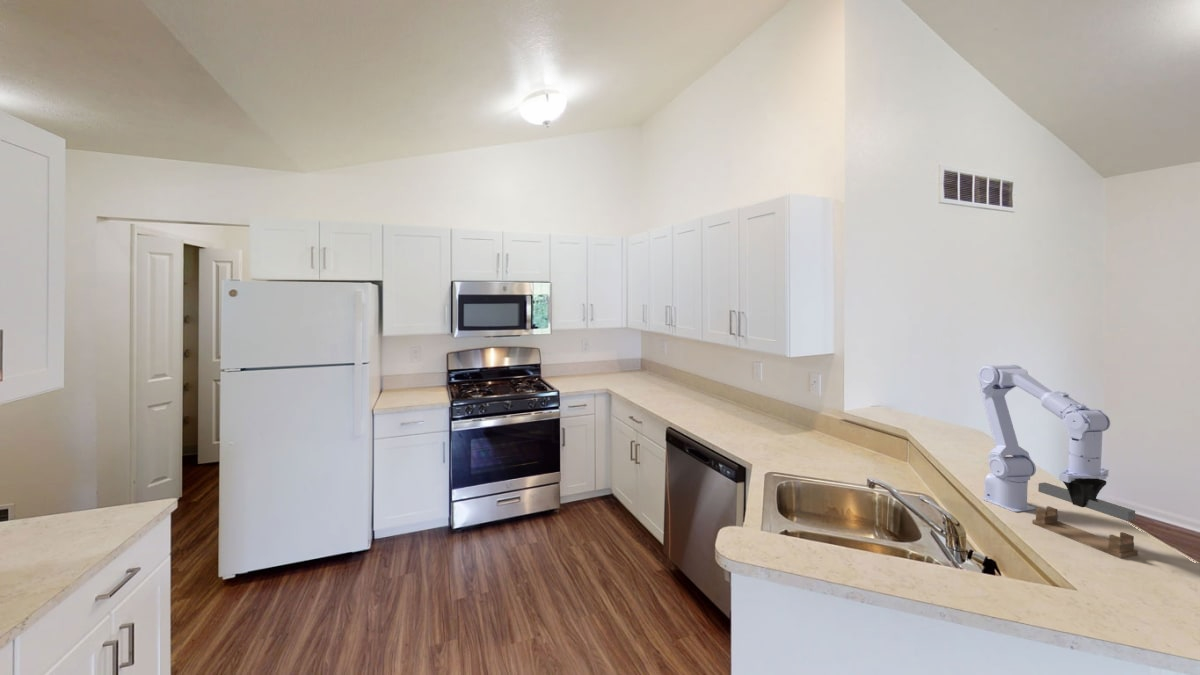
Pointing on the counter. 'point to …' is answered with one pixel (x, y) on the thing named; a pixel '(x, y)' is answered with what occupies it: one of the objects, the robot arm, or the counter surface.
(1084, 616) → the counter surface
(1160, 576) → the counter surface
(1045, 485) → the graphite rail
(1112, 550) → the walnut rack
